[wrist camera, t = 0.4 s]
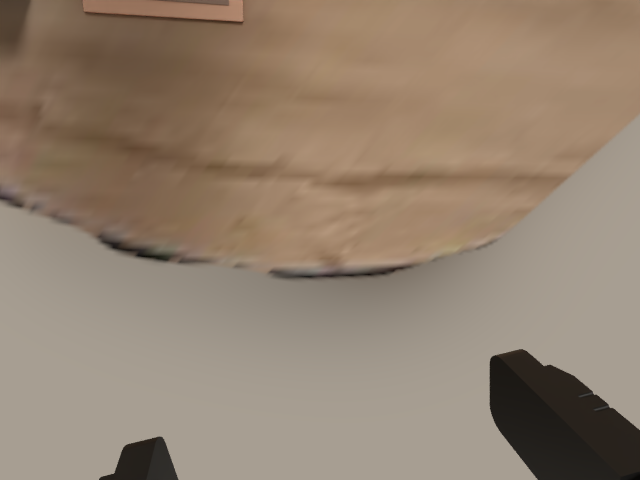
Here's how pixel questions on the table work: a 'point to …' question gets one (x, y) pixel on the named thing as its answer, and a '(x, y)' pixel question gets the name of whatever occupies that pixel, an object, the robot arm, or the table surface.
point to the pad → (170, 8)
